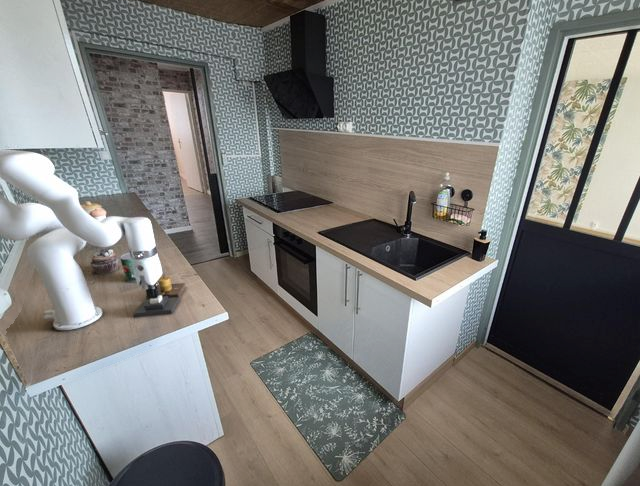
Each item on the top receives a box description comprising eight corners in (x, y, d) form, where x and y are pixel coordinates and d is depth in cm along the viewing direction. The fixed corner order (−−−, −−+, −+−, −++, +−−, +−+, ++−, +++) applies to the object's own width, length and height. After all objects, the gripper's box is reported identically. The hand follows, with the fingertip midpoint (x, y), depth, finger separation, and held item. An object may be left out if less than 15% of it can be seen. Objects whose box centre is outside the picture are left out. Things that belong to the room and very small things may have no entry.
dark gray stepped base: (134, 317, 106) (132, 309, 104) (145, 303, 114) (143, 295, 112) (172, 313, 109) (170, 305, 107) (179, 300, 117) (178, 293, 115)
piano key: (150, 304, 108) (149, 300, 108) (153, 299, 111) (152, 295, 110) (159, 303, 109) (158, 299, 108) (162, 299, 112) (161, 295, 111)
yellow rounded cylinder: (171, 290, 118) (169, 279, 116) (160, 292, 117) (157, 281, 115) (172, 286, 122) (169, 274, 120) (160, 288, 120) (158, 276, 118)
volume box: (147, 301, 115) (146, 296, 114) (156, 290, 123) (155, 284, 122) (179, 299, 117) (177, 293, 116) (185, 287, 125) (184, 282, 124)
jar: (97, 224, 189) (89, 198, 182) (115, 226, 187) (107, 199, 181) (75, 231, 177) (66, 203, 170) (94, 233, 175) (85, 205, 169)
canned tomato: (122, 279, 129) (115, 256, 125) (140, 272, 136) (134, 250, 132) (133, 283, 126) (127, 260, 122) (152, 275, 133) (146, 253, 129)
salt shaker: (113, 242, 165) (104, 209, 158) (97, 244, 162) (86, 210, 154) (115, 237, 171) (106, 206, 164) (98, 239, 167) (88, 207, 160)
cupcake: (98, 266, 138) (92, 247, 135) (123, 264, 142) (118, 245, 138) (89, 275, 130) (82, 255, 126) (116, 273, 134) (110, 253, 130)
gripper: (147, 260, 97) (157, 307, 103) (163, 244, 110) (171, 286, 117) (120, 261, 95) (132, 309, 101) (140, 244, 108) (150, 287, 115)
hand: (153, 296), depth 109 cm, fingers closed
